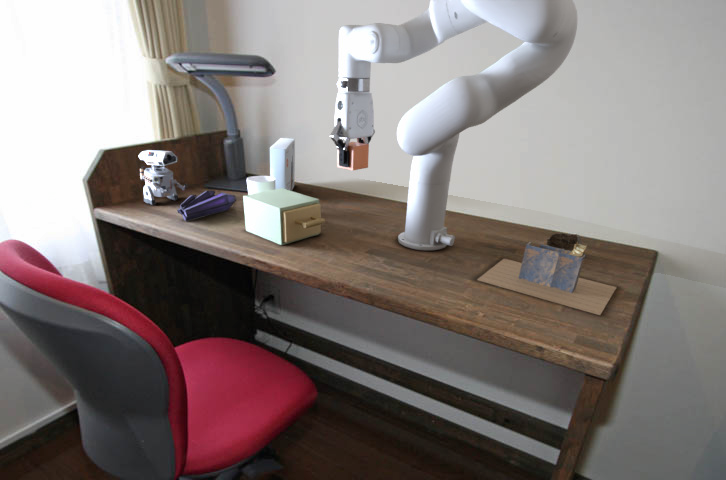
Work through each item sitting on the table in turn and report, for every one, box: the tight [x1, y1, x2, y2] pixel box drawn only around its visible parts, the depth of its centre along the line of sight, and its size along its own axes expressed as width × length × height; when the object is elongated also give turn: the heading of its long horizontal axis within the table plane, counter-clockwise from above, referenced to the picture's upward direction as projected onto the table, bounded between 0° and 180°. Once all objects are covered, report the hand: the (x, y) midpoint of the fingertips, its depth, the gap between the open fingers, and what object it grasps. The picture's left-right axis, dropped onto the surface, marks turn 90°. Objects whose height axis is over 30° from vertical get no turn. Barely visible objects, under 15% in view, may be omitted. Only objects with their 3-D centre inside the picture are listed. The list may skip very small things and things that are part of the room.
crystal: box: [176, 190, 237, 222], centre depth 133 cm, size 7×12×20 cm
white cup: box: [246, 175, 276, 195], centre depth 134 cm, size 8×8×10 cm
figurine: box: [138, 149, 189, 206], centre depth 139 cm, size 9×12×15 cm
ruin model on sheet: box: [476, 241, 618, 316], centre depth 99 cm, size 25×16×10 cm, turn 54°
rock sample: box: [546, 232, 583, 251], centre depth 117 cm, size 10×8×9 cm
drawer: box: [282, 203, 326, 243], centre depth 119 cm, size 18×11×7 cm, turn 47°
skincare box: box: [269, 137, 296, 191], centre depth 154 cm, size 21×5×16 cm, turn 179°
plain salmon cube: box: [336, 141, 370, 171], centre depth 121 cm, size 6×6×6 cm
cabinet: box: [242, 188, 320, 246], centre depth 121 cm, size 15×13×9 cm
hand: (352, 164), depth 122 cm, fingers closed on plain salmon cube, 5 cm apart
